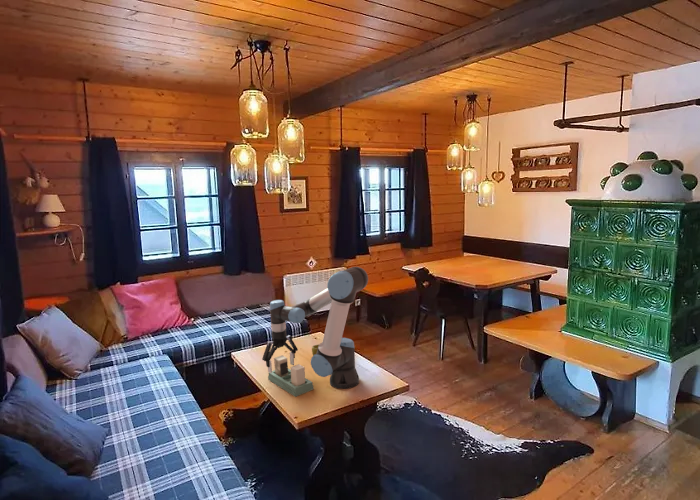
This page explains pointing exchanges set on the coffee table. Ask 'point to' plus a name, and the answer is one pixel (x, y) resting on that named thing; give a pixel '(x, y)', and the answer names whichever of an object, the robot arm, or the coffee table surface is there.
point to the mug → (314, 349)
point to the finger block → (281, 366)
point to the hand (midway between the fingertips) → (281, 368)
